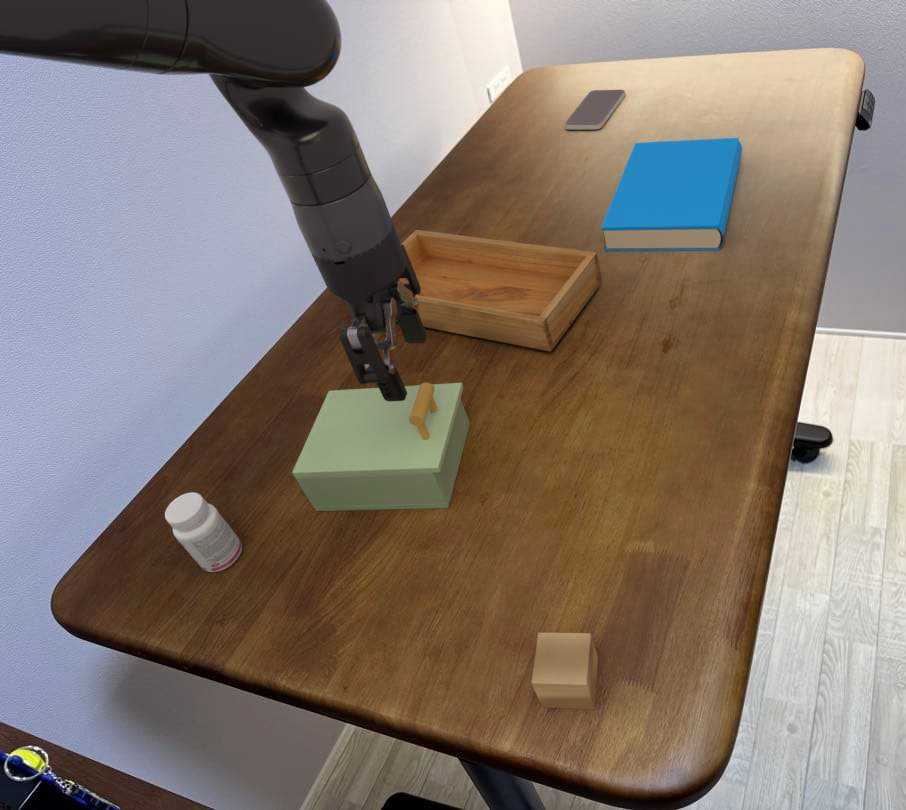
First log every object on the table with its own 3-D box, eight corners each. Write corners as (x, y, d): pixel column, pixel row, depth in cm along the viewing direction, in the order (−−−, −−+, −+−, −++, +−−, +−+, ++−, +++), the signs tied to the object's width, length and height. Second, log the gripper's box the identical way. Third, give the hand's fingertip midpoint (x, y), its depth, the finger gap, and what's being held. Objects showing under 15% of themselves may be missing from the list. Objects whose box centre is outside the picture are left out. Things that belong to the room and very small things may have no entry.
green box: (470, 423, 92) (457, 388, 88) (448, 508, 83) (432, 473, 80) (349, 429, 96) (331, 395, 92) (316, 511, 87) (294, 477, 83)
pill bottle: (250, 537, 86) (214, 488, 80) (232, 574, 83) (193, 526, 77) (212, 536, 87) (174, 489, 81) (193, 573, 84) (152, 526, 78)
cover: (463, 387, 88) (452, 357, 85) (440, 472, 79) (426, 442, 76) (331, 395, 92) (316, 366, 89) (294, 477, 83) (276, 448, 80)
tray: (367, 318, 112) (353, 286, 108) (426, 258, 121) (415, 227, 117) (551, 357, 98) (542, 322, 94) (603, 286, 107) (597, 251, 103)
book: (600, 228, 110) (633, 141, 126) (605, 253, 113) (636, 165, 129) (724, 225, 104) (741, 134, 121) (725, 252, 107) (742, 159, 124)
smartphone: (626, 89, 149) (600, 125, 140) (627, 94, 150) (600, 130, 140) (590, 90, 152) (562, 125, 143) (591, 94, 153) (563, 130, 143)
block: (594, 709, 65) (586, 684, 62) (541, 707, 66) (531, 683, 62) (598, 659, 68) (590, 633, 65) (548, 658, 69) (538, 632, 66)
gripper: (334, 193, 73) (390, 326, 84) (281, 284, 63) (352, 422, 74) (409, 183, 71) (456, 321, 82) (366, 275, 61) (426, 418, 73)
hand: (407, 369), depth 78 cm, fingers open, 8 cm apart
